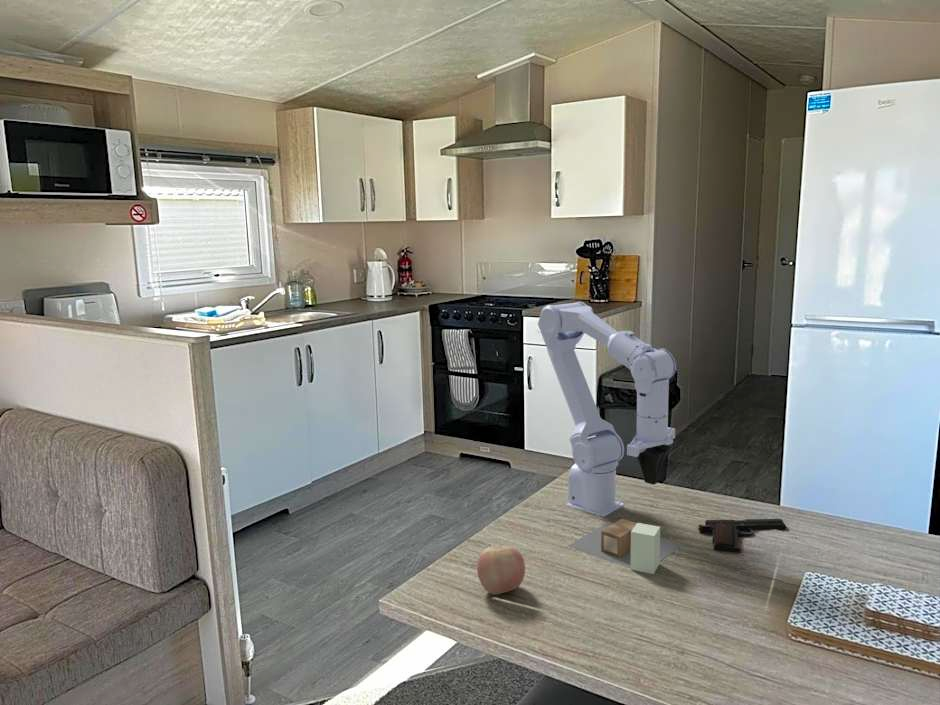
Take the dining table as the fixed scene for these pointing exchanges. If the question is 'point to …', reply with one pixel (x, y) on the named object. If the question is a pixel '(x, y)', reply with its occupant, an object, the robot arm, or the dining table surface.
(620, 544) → the walnut block
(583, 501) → the robot arm
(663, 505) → the dining table surface
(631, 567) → the sage block
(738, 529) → the handgun
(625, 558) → the mat
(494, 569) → the apple
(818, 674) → the dining table surface
